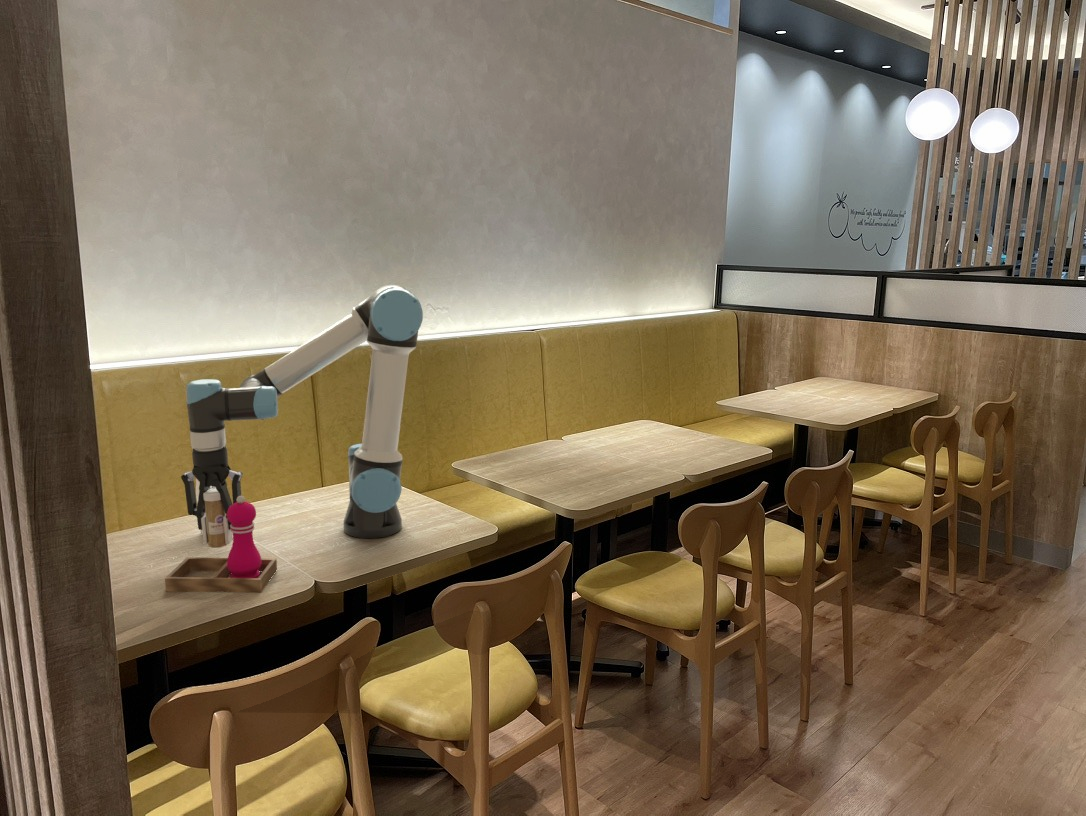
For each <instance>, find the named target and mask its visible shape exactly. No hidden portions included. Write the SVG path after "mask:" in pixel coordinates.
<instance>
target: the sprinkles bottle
mask: <svg viewBox="0 0 1086 816" xmlns="http://www.w3.org/2000/svg"><path fill="white" fill-rule="evenodd" d="M203 497H204V502H205V511H206V512H205V515H206V526H207V533H208V542H209V543H208V544H207V546H208V547H209V548H213V549H216V548H218V549H219V548H223V547H225V546H228V544H226V543H225V532H224V522H223V518H224V517H225V516H226V513H225V510H224V507H223V504H222V501H221V498H220V493H219V492H218V491H217V489H216V488H215V489H209V490H207V491H206V492H205V493H204V494H203Z"/></svg>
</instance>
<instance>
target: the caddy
mask: <svg viewBox="0 0 1086 816" xmlns="http://www.w3.org/2000/svg"><path fill="white" fill-rule="evenodd" d="M227 559H228V557H197V556H196V557H193V556H192V557H189V556H188V557H185V558H184V559H183V560H182V561H181V562H180V563H179V564H178V565H177V566H176V567H175V568H174V569H173V570H172V571H171V572H170V573H169V574H168V575H167V576H165V578H164V585H165V587H164V588H165V592H180V593H181V592H192V593H194V592H195V593H206V592H207V593H248V594H249V593H251V594H252V593H253V594H255V593H257V594H258V593H259V594H261V593H262V592H263V591H264V590H265V588H266V587H267V585H268V584H269V583H270V581H271V580H272V578H273V577H274V576H275V574H276V573H277V572H276V570H277V571H278V565H277V564H278V561H277V559H278V558H267V557H266V558H264V557H263V558H262V557H261V561H262V563H261V566H260V568H259V569H258V571H263V572H260V576H259V577H258V578H230V575H231V573H232V572H230V571H229V570H228V568H227ZM190 572H215V573H214V575H213V576H212V577H209V576H207V577H203V576H201V577H200V576H198V577H197V576H196V577H195V576H187V575H188V574H189V573H190ZM275 572H276V573H275ZM274 573H275V574H274ZM273 575H274V576H273ZM272 576H273V577H272ZM271 577H272V578H271ZM270 579H271V580H270ZM269 580H270V581H269ZM268 582H269V583H268ZM267 583H268V584H267ZM265 586H266V587H265Z"/></svg>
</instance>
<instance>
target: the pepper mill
mask: <svg viewBox="0 0 1086 816" xmlns="http://www.w3.org/2000/svg"><path fill="white" fill-rule="evenodd" d="M236 500H237V502H236V503H234V504H233V503H232V505H231V506H230V507H229V509H228V511H227V519H228V520H229V521H230V522H231V523H232V524H231V525H230V527H231V529H230V531H231V532H232V535H233V540H232V545H231V547H230V551H229V553H228V555H227V558H228V559H227V568H228V570H229V571H230V572H232V573H231V575H230V576H229V578H258V577H259V576H260V575H261V572H259V571H258V569H259V568H260V566H261V563H262V561H261V558H262V556H261V553H260V552H259V549H258V547H256V544H255V541H254V537H253V532H254V530H255V522H254V520H255V519H256V516H257V511H256V507H255V505H253V504H252V503H251V502H248V501H246V497H245V496H244V495H241V496H238V497H237V499H236Z"/></svg>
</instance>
